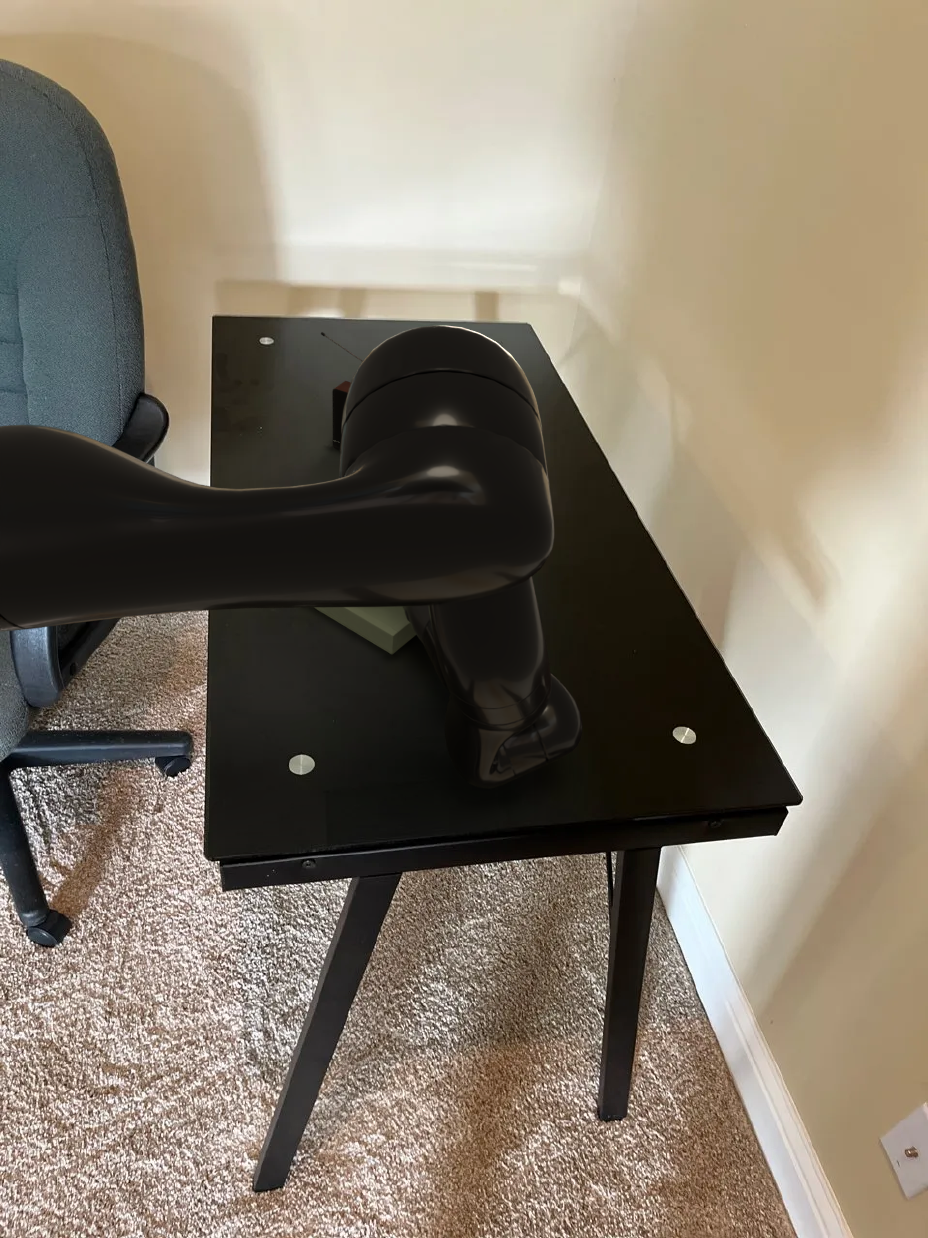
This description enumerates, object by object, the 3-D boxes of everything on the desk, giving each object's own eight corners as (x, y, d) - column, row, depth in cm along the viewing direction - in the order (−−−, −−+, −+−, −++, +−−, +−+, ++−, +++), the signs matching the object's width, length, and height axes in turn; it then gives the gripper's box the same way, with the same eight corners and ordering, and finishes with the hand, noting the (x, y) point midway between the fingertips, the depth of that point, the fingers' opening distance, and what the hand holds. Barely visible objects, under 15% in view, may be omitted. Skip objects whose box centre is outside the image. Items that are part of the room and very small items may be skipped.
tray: (392, 655, 82) (393, 636, 80) (278, 586, 88) (276, 567, 86) (501, 564, 94) (504, 546, 92) (395, 509, 100) (396, 491, 98)
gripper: (520, 553, 75) (457, 457, 87) (368, 576, 71) (322, 471, 82) (510, 615, 80) (451, 516, 92) (366, 640, 75) (324, 533, 87)
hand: (390, 496), depth 87 cm, fingers closed on milkshake, 4 cm apart
